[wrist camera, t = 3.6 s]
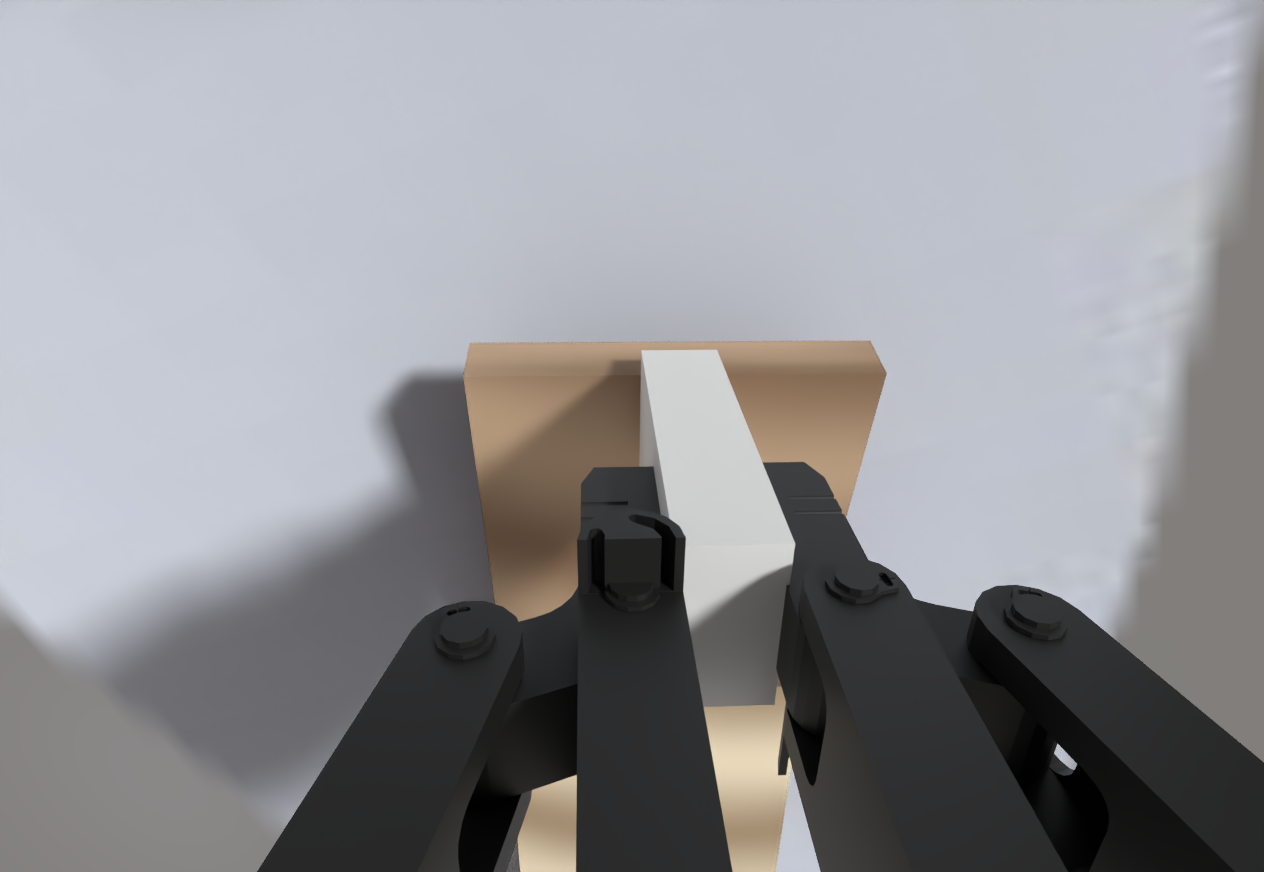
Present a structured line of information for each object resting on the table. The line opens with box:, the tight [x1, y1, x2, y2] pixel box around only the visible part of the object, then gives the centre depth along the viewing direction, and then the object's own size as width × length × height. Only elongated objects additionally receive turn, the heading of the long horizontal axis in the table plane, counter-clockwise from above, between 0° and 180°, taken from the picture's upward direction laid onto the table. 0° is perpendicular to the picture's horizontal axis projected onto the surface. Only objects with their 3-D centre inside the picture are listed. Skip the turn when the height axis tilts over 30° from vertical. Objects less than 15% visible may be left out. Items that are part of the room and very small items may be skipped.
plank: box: [463, 341, 887, 622], centre depth 19 cm, size 10×8×1 cm
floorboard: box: [518, 677, 791, 872], centre depth 25 cm, size 12×8×2 cm
